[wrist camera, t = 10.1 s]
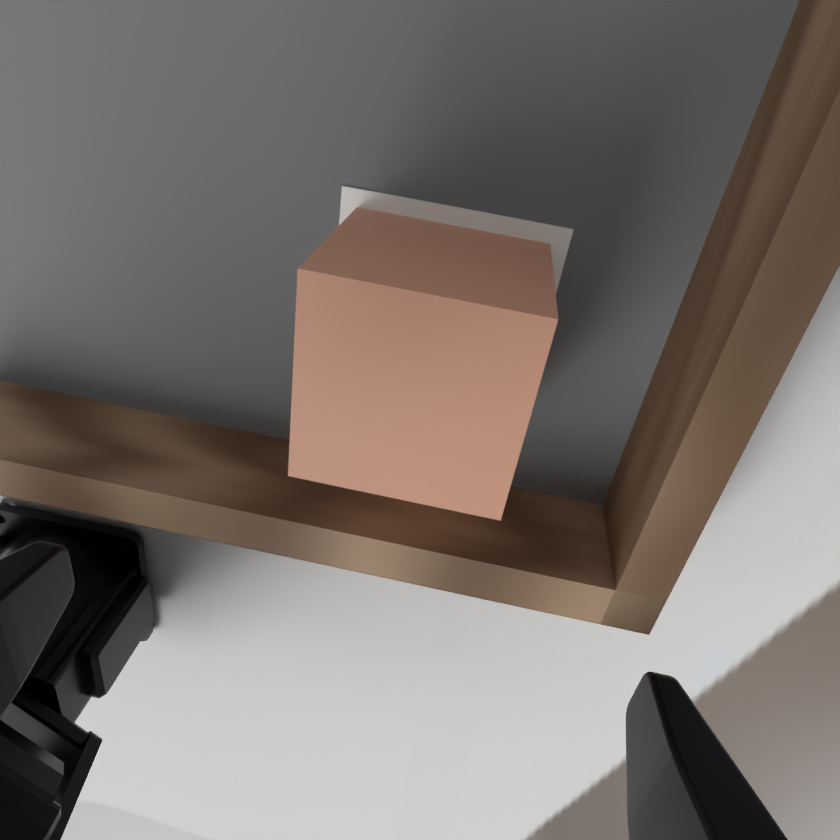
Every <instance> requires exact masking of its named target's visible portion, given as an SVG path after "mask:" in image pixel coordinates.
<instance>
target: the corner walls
mask: <svg viewBox="0 0 840 840" xmlns="http://www.w3.org/2000/svg"><path fill="white" fill-rule="evenodd" d="M839 265H840V0H799V3H798V5H797V8H796V10H795V13H794V15H793V18H792V21H791V23H790V26H789V28H788V31H787V33H786V36H785V38H784V41H783V44H782V46H781V49H780V51H779V54H778V56H777V59H776V62H775V64H774V67H773V69H772V72H771V74H770V77H769V79H768V82H767V85H766V87H765V90H764V92H763V95H762V97H761V100H760V102H759V105H758V108H757V110H756V113H755V115H754V118H753V120H752V123H751V125H750V128H749V131H748V133H747V136H746V138H745V141H744V143H743V146H742V148H741V151H740V154H739V156H738V159H737V161H736V164H735V166H734V169H733V171H732V174H731V177H730V179H729V182H728V184H727V187H726V189H725V192H724V194H723V197H722V200H721V202H720V205H719V207H718V210H717V212H716V215H715V218H714V220H713V223H712V225H711V228H710V230H709V233H708V235H707V238H706V241H705V243H704V246H703V248H702V251H701V253H700V256H699V258H698V261H697V264H696V266H695V269H694V271H693V274H692V276H691V279H690V281H689V284H688V287H687V289H686V292H685V294H684V297H683V299H682V302H681V304H680V307H679V310H678V312H677V315H676V317H675V320H674V322H673V325H672V327H671V330H670V333H669V335H668V338H667V340H666V343H665V345H664V348H663V350H662V353H661V356H660V358H659V361H658V363H657V366H656V368H655V371H654V373H653V376H652V379H651V381H650V384H649V386H648V389H647V391H646V394H645V397H644V399H643V402H642V404H641V407H640V409H639V412H638V414H637V417H636V420H635V422H634V425H633V427H632V430H631V432H630V435H629V437H628V440H627V443H626V445H625V448H624V450H623V453H622V455H621V458H620V460H619V463H618V466H617V468H616V471H615V473H614V476H613V478H612V481H611V483H610V486H609V489H608V491H607V494H606V496H605V499H604V501H603V504H602V505H599V504H594V503H590V502H585V501H580V500H575V499H570V498H565V497H561V496H556V495H551V494H546V493H541V492H536V491H532V490H527V489H522V488H517V487H512V486H511V487H510V490H509V494H508V497H507V501H506V504H505V508H504V511H503V515H502V518H501V521H500V520H495V519H490V518H486V517H481V516H476V515H471V514H466V513H462V512H457V511H452V510H447V509H443V508H438V507H433V506H428V505H424V504H419V503H414V502H409V501H405V500H400V499H395V498H390V497H386V496H381V495H376V494H371V493H367V492H362V491H357V490H352V489H348V488H343V487H338V486H333V485H329V484H324V483H319V482H314V481H309V480H305V479H300V478H295V477H290V476H288V464H289V442H290V440H285V439H280V438H276V437H271V436H266V435H261V434H256V433H251V432H247V431H242V430H237V429H232V428H227V427H222V426H218V425H213V424H208V423H203V422H198V421H193V420H189V419H184V418H179V417H174V416H169V415H164V414H160V413H155V412H150V411H145V410H140V409H135V408H131V407H126V406H121V405H116V404H111V403H106V402H102V401H97V400H92V399H87V398H82V397H77V396H73V395H68V394H63V393H58V392H53V391H48V390H44V389H39V388H34V387H29V386H24V385H19V384H15V383H10V382H5V381H0V495H2V496H7V497H11V498H16V499H21V500H25V501H30V502H35V503H39V504H44V505H49V506H53V507H58V508H62V509H67V510H72V511H76V512H81V513H86V514H90V515H95V516H100V517H104V518H109V519H114V520H118V521H123V522H128V523H132V524H137V525H141V526H146V527H151V528H155V529H160V530H165V531H169V532H174V533H179V534H183V535H188V536H193V537H197V538H202V539H207V540H211V541H216V542H221V543H225V544H230V545H234V546H239V547H244V548H248V549H253V550H258V551H262V552H267V553H272V554H276V555H281V556H286V557H290V558H295V559H300V560H304V561H309V562H313V563H318V564H323V565H327V566H332V567H337V568H341V569H346V570H351V571H355V572H360V573H365V574H369V575H374V576H379V577H383V578H388V579H393V580H397V581H402V582H406V583H411V584H416V585H420V586H425V587H430V588H434V589H439V590H444V591H448V592H453V593H458V594H462V595H467V596H472V597H476V598H481V599H485V600H490V601H495V602H499V603H504V604H509V605H513V606H518V607H523V608H527V609H532V610H537V611H541V612H546V613H551V614H555V615H560V616H564V617H569V618H574V619H578V620H583V621H588V622H592V623H597V624H602V625H606V626H611V627H616V628H620V629H625V630H630V631H634V632H639V633H644V634H648V635H649V634H650V632H651V630H652V628H653V626H654V624H655V622H656V620H657V618H658V616H659V614H660V612H661V610H662V608H663V606H664V605H665V603H666V601H667V599H668V597H669V595H670V593H671V591H672V589H673V587H674V585H675V583H676V581H677V579H678V577H679V575H680V573H681V572H682V570H683V568H684V566H685V564H686V562H687V560H688V558H689V556H690V554H691V552H692V550H693V548H694V546H695V544H696V542H697V541H698V539H699V537H700V535H701V533H702V531H703V529H704V527H705V525H706V523H707V521H708V519H709V517H710V515H711V513H712V511H713V509H714V508H715V506H716V504H717V502H718V500H719V498H720V496H721V494H722V492H723V490H724V488H725V486H726V484H727V482H728V480H729V478H730V476H731V475H732V473H733V471H734V469H735V467H736V465H737V463H738V461H739V459H740V457H741V455H742V453H743V451H744V449H745V447H746V445H747V444H748V442H749V440H750V438H751V436H752V434H753V432H754V430H755V428H756V426H757V424H758V422H759V420H760V418H761V416H762V414H763V412H764V411H765V409H766V407H767V405H768V403H769V401H770V399H771V397H772V395H773V393H774V391H775V389H776V387H777V385H778V383H779V381H780V380H781V378H782V376H783V374H784V372H785V370H786V368H787V366H788V364H789V362H790V360H791V358H792V356H793V354H794V352H795V350H796V348H797V347H798V345H799V343H800V341H801V339H802V337H803V335H804V333H805V331H806V329H807V327H808V325H809V323H810V321H811V319H812V317H813V316H814V314H815V312H816V310H817V308H818V306H819V304H820V302H821V300H822V298H823V296H824V294H825V292H826V290H827V288H828V286H829V284H830V283H831V281H832V279H833V277H834V275H835V273H836V271H837V269H838V267H839Z"/></svg>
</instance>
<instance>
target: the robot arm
mask: <svg viewBox="0 0 840 840" xmlns="http://www.w3.org/2000/svg"><path fill="white" fill-rule="evenodd" d="M153 620H154V614H153V605H152V596H151V587H150V582H149V580H148V577H147V571H146V562H145V554H144V545H143V540H142V538H141V537H140V536H139V535H138V534H137V533H135V532H133V531H129V530H125V529H120V528H115V527H111V526H106V525H101V524H97V523H92V522H88V521H83V520H78V519H74V518H69V517H64V516H60V515H55V514H50V513H46V512H41V511H37V510H32V509H27V508H23V507H18V506H13V505H9V504H4V503H0V840H60V839H61V837H62V835H63V832H64V829H65V827H66V825H67V823H68V820H69V818H70V816H71V813H72V811H73V808H74V806H75V804H76V801H77V799H78V797H79V794H80V792H81V790H82V787H83V785H84V782H85V780H86V778H87V775H88V773H89V771H90V768H91V766H92V763H93V761H94V759H95V756H96V754H97V752H98V749H99V747H100V744H101V742H102V739H101V738H100V737H98V736H97V735H96V734H94V733H93V732H91V731H90V732H86V731H85V730H84V729H82V728H81V727H79V726H78V725H76V724H75V721H76V719H77V718H78V716H79V715H80V713H81V712H82V710H83V709H84V707H85V706H86V704H87V703H88V701H89V700H90V698H91V697H96V698H101V697H102V696H104V695H105V694H107V692H108V691H109V689H110V688H111V686H112V685H113V683H114V681H115V680H116V678H117V677H118V675H119V674H120V672H121V670H122V669H123V667H124V666H125V664H126V662H127V661H128V659H129V658H130V656H131V655H132V653H133V651H134V650H135V648H136V647H137V645H138V644H139V642H140V641H146V640H147V639H148V638H149V637H150V635H151V634H152V632H153V623H152V622H153ZM626 765H627V815H628V832H629V840H788V839H787V838H786V836H785V835H784V833H783V832H782V831H781V830H780V828H779V826H778V825H777V823H776V822H775V820H774V819H773V818H772V816H771V815H770V813H769V812H768V810H767V809H766V807H765V806H764V805H763V803H762V802H761V800H760V799H759V797H758V796H757V794H756V793H755V792H754V790H753V789H752V787H751V786H750V784H749V783H748V782H747V780H746V779H745V777H744V776H743V774H742V773H741V771H740V770H739V769H738V767H737V766H736V764H735V763H734V761H733V760H732V758H731V757H730V756H729V754H728V753H727V751H726V750H725V749H724V747H723V746H722V744H721V742H720V741H719V740H718V738H717V737H716V735H715V734H714V732H713V731H712V729H711V728H710V727H709V725H708V724H707V722H706V721H705V719H704V718H703V717H702V715H701V714H700V712H699V711H698V709H697V708H696V706H695V705H694V703H693V702H692V701H691V699H690V698H689V696H688V695H687V693H686V692H685V690H684V689H683V688H682V686H681V685H680V683H679V682H678V681H677V680H676V679H675V678H673V677H671V676H668V675H663V674H659V673H654V672H647V673H646V674H644V676H643V677H642V679H641V681H640V683H639V685H638V686H637V688H636V690H635V692H634V694H633V696H632V698H631V700H630V702H629V704H628V707H627V712H626Z"/></svg>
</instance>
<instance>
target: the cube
mask: <svg viewBox="0 0 840 840" xmlns="http://www.w3.org/2000/svg"><path fill="white" fill-rule="evenodd" d="M557 322H558V312H557V302H556V293H555V284H554V274H553V265H552V255H551V246H550V244H549V243H544V242H539V241H533V240H528V239H523V238H518V237H512V236H507V235H502V234H497V233H491V232H486V231H481V230H476V229H470V228H465V227H460V226H455V225H449V224H444V223H439V222H434V221H428V220H423V219H418V218H413V217H407V216H402V215H397V214H392V213H387V212H381V211H376V210H371V209H366V208H360V207H357V208H356V209H355V210H354V211H353V212H352V213H351V214H350V215H349V216H348V217H347V218H346V219H345V220H344V221H343V222H342V223H341V224H340V225H339V226H338V227H337V228H336V229H335V230H334V231H333V232H332V233H331V234H330V235H329V237H328V238H327V239H326V240H325V241H324V242H323V243H322V244H321V245H320V246H319V247H318V248H317V249H316V250H315V251H314V252H313V253H312V254H311V255H310V256H309V257H308V258H307V259H306V260H305V261H304V262H303V263H302V264H301V265H300V267H299V268H298V271H297V292H296V314H295V335H294V356H293V378H292V399H291V421H290V442H289V464H288V476H290V477H295V478H300V479H305V480H309V481H314V482H319V483H324V484H329V485H333V486H338V487H343V488H348V489H352V490H357V491H362V492H367V493H371V494H376V495H381V496H386V497H390V498H395V499H400V500H405V501H409V502H414V503H419V504H424V505H428V506H433V507H438V508H443V509H447V510H452V511H457V512H462V513H466V514H471V515H476V516H481V517H486V518H490V519H495V520H500V521H501V518H502V515H503V511H504V508H505V504H506V501H507V497H508V494H509V490H510V487H511V483H512V480H513V476H514V473H515V469H516V466H517V462H518V459H519V455H520V452H521V448H522V445H523V441H524V438H525V434H526V431H527V427H528V424H529V420H530V417H531V413H532V410H533V406H534V403H535V399H536V396H537V392H538V389H539V385H540V382H541V378H542V375H543V371H544V368H545V364H546V361H547V357H548V354H549V350H550V347H551V343H552V340H553V336H554V333H555V329H556V326H557Z"/></svg>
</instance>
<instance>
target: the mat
mask: <svg viewBox="0 0 840 840" xmlns="http://www.w3.org/2000/svg"><path fill="white" fill-rule="evenodd" d="M798 3H799V0H0V381H5V382H10V383H15V384H19V385H24V386H29V387H34V388H39V389H44V390H48V391H53V392H58V393H63V394H68V395H73V396H77V397H82V398H87V399H92V400H97V401H102V402H106V403H111V404H116V405H121V406H126V407H131V408H135V409H140V410H145V411H150V412H155V413H160V414H164V415H169V416H174V417H179V418H184V419H189V420H193V421H198V422H203V423H208V424H213V425H218V426H222V427H227V428H232V429H237V430H242V431H247V432H251V433H256V434H261V435H266V436H271V437H276V438H280V439H285V440H290V421H291V399H292V378H293V356H294V335H295V314H296V292H297V271H298V268H299V267H300V265H301V264H302V263H303V262H304V261H305V260H306V259H307V258H308V257H309V256H310V255H311V254H312V253H313V252H314V251H315V250H316V249H317V248H318V247H319V246H320V245H321V244H322V243H323V242H324V241H325V240H326V239H327V238H328V237H329V235H330V234H331V233H332V232H333V231H334V230H335V229H336V228H337V227H338V226H339V225H340V224H341V223H342V222H343V221H344V220H345V219H346V218H347V217H348V216H349V215H350V214H351V213H352V212H353V211H354V210H355V209H356V208H357V207H360V208H366V209H371V210H376V211H381V212H387V213H392V214H397V215H402V216H407V217H413V218H418V219H423V220H428V221H434V222H439V223H444V224H449V225H455V226H460V227H465V228H470V229H476V230H481V231H486V232H491V233H497V234H502V235H507V236H512V237H518V238H523V239H528V240H533V241H539V242H544V243H549V244H550V246H551V255H552V265H553V274H554V284H555V293H556V302H557V312H558V322H557V326H556V329H555V333H554V336H553V340H552V343H551V347H550V350H549V354H548V357H547V361H546V364H545V368H544V371H543V375H542V378H541V382H540V385H539V389H538V392H537V396H536V399H535V403H534V406H533V410H532V413H531V417H530V420H529V424H528V427H527V431H526V434H525V438H524V441H523V445H522V448H521V452H520V455H519V459H518V462H517V466H516V469H515V473H514V476H513V480H512V483H511V486H512V487H517V488H522V489H527V490H532V491H536V492H541V493H546V494H551V495H556V496H561V497H565V498H570V499H575V500H580V501H585V502H590V503H594V504H599V505H602V504H603V501H604V499H605V496H606V494H607V491H608V489H609V486H610V483H611V481H612V478H613V476H614V473H615V471H616V468H617V466H618V463H619V460H620V458H621V455H622V453H623V450H624V448H625V445H626V443H627V440H628V437H629V435H630V432H631V430H632V427H633V425H634V422H635V420H636V417H637V414H638V412H639V409H640V407H641V404H642V402H643V399H644V397H645V394H646V391H647V389H648V386H649V384H650V381H651V379H652V376H653V373H654V371H655V368H656V366H657V363H658V361H659V358H660V356H661V353H662V350H663V348H664V345H665V343H666V340H667V338H668V335H669V333H670V330H671V327H672V325H673V322H674V320H675V317H676V315H677V312H678V310H679V307H680V304H681V302H682V299H683V297H684V294H685V292H686V289H687V287H688V284H689V281H690V279H691V276H692V274H693V271H694V269H695V266H696V264H697V261H698V258H699V256H700V253H701V251H702V248H703V246H704V243H705V241H706V238H707V235H708V233H709V230H710V228H711V225H712V223H713V220H714V218H715V215H716V212H717V210H718V207H719V205H720V202H721V200H722V197H723V194H724V192H725V189H726V187H727V184H728V182H729V179H730V177H731V174H732V171H733V169H734V166H735V164H736V161H737V159H738V156H739V154H740V151H741V148H742V146H743V143H744V141H745V138H746V136H747V133H748V131H749V128H750V125H751V123H752V120H753V118H754V115H755V113H756V110H757V108H758V105H759V102H760V100H761V97H762V95H763V92H764V90H765V87H766V85H767V82H768V79H769V77H770V74H771V72H772V69H773V67H774V64H775V62H776V59H777V56H778V54H779V51H780V49H781V46H782V44H783V41H784V38H785V36H786V33H787V31H788V28H789V26H790V23H791V21H792V18H793V15H794V13H795V10H796V8H797V5H798Z"/></svg>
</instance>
